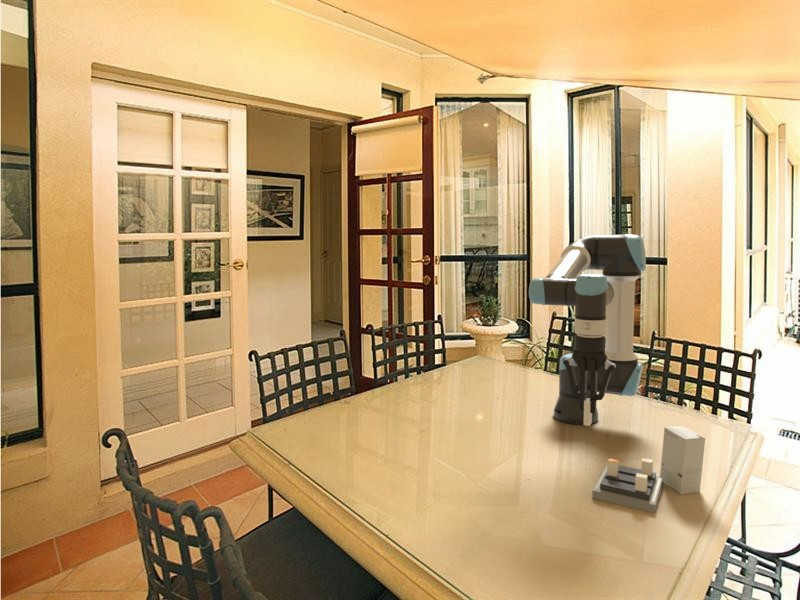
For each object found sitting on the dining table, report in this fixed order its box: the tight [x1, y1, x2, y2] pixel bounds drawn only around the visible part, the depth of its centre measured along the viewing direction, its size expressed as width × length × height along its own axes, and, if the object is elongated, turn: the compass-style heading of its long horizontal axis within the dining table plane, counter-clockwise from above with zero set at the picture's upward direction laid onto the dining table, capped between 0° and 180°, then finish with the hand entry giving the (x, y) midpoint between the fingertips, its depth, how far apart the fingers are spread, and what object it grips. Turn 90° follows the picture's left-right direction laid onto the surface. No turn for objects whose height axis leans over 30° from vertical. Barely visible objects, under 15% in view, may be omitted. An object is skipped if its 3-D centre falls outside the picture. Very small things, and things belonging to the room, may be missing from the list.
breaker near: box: [635, 473, 648, 492], centre depth 125 cm, size 2×2×4 cm
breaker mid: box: [606, 458, 620, 477], centre depth 133 cm, size 2×2×4 cm
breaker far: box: [640, 457, 654, 476], centre depth 133 cm, size 2×2×4 cm
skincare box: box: [659, 425, 706, 495], centre depth 133 cm, size 8×6×15 cm
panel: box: [592, 464, 664, 514], centre depth 131 cm, size 14×16×4 cm
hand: (587, 423), depth 135 cm, fingers closed
